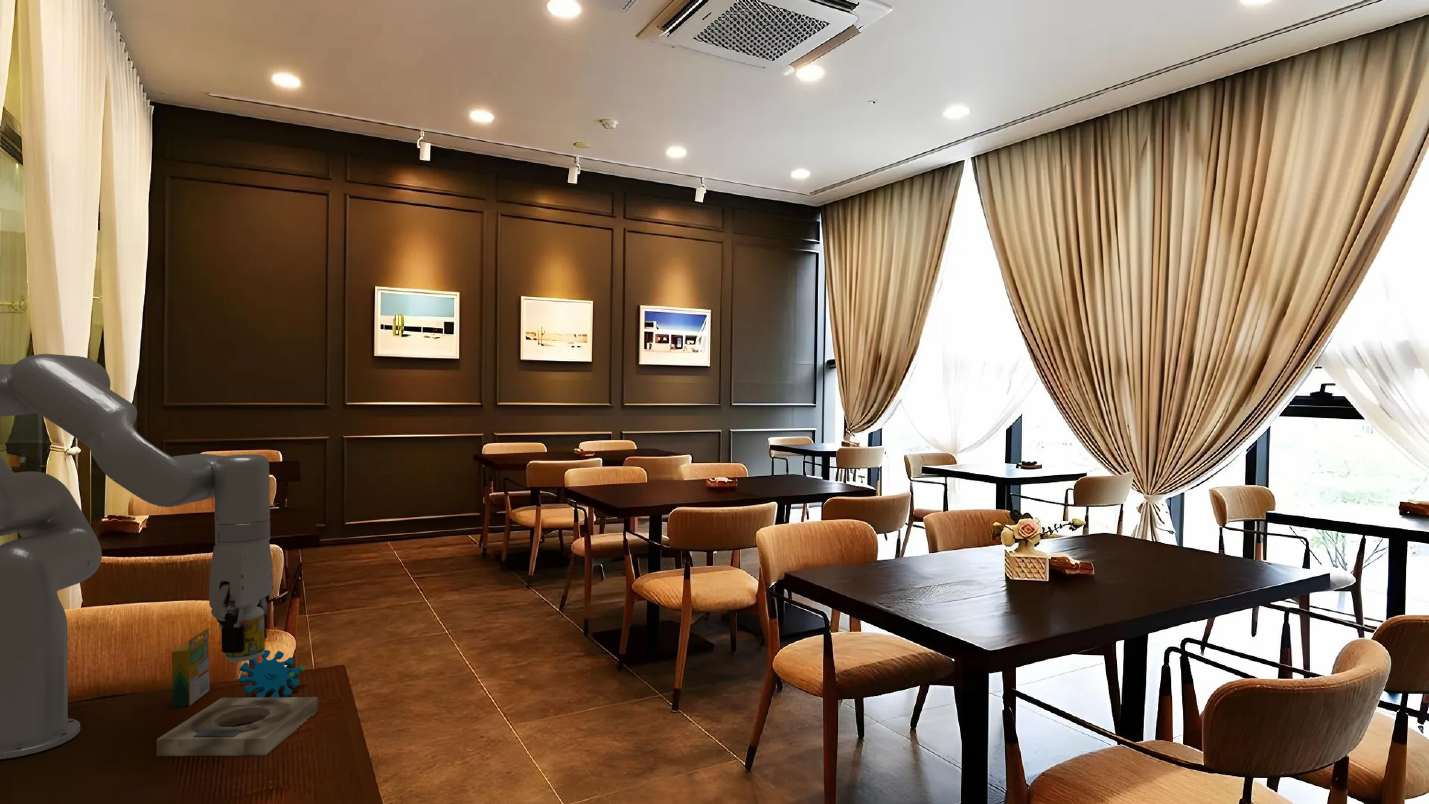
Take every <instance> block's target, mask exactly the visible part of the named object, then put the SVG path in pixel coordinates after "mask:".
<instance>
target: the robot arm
mask: <svg viewBox="0 0 1429 804" xmlns="http://www.w3.org/2000/svg"><path fill="white" fill-rule="evenodd" d="M111 383H112V382H111V378H110V375H109V374H108V371H107V370H106V369H105V368H104V366H102V365H101V364H100V363H98V362H97V361H95V360H93V359H91V358H89V357H84V356H79V355H69V354H68V355H67V354H66V355H65V354H55V353H39V354H34V355H33V354H32V355H29V356H26V357H24V358H21V359H20V360H18V361H17V362H16V363H9V364H7V363H6V364H5V363H4V364H3V363H0V417H10V416H11V417H12V416H13V417H14V416H23V415H30V414H31V415H32V414H39V415H40V416H42V417H44V419H46V420H48V421H49V422H51V423H53V424H54V425H56V426H57V427H59V428H61V429H62V430H63V431H64V432H66V433H68V434H69V435H71V436H72V437H74V438H75V439H77V440H78V441H80V442H81V443H82V444H84V445H85V446H87V447H88V449H89V450H90V455H91V456H92V458H93V459H94V461H95V462H96V464H97V466H98V467H99V468H100V469H101V471H102V472H103V473H104V474H105V476H107V477H108V478H109V479H110V480H112V481H113V482H114V483H115V484H117V485H119V486H120V487H121V488H123V489H125V490H126V491H128V492H129V493H131V494H133V495H134V496H136V497H137V498H140V499H141V500H142V501H144V502H146V503H149V504H150V505H154V506H157V507H162V508H175V507H180V506H182V505H187V504H191V503H195V502H200V501H204V500H208V499H214V533H215V534H214V538H215V539H214V540H215V541H214V543H215V545H214V546H213V551H212V556H211V560H210V569H209V571H210V573H209V574H210V575H209V584H208V585H209V587H208V588H209V593H208V602H209V608H211V610H210V613H211V615H212V617H214V618H215V619H216V621H217V622H218V626H219V629H220V630H221V653H223V654H226V653H241V652H243V651H244V650H245V643H244V626H241V623H242V617H243V611H244V607H245V606H247V605H249V604H251V603H253V602H255V601H257V600H259V603H258V605H257V606H258V607H260V608H262V609H263V611H264V636H265V640H266V639H267V637H268V636H267V634H268V633H267V614H268V611H269V608H268V604H269V601H270V597H271V595H272V592H273V590H274V585H273V561H272V554H271V553H272V552H271V544H270V540H271V504H270V502H271V498H270V497H271V496H270V489H271V488H270V463H269V460H268V458H267V457H266V456H264V455H261V454H231V455H219V454H209V453H192V454H185V455H184V454H183V455H175V456H171V455H170V454H167V453H166V452H164V451H163V450H161V449H160V448H158V447H157V446H155V445H153V444H152V443H151V442H149V441H148V440H146V439H145V438H144V437H143V436H142V435H140V434H139V432H137V430H136V429H135V428H134V424H135V423H136V420H137V417H138V410H137V408H136V406H135V405H134V404H133V403H132V402H130V401H129V400H127V399H125V398H124V397H122V395H120V394H118V393H117V392H115V391H113V390H112V389H111ZM17 533H19V535H20V537H21V538H17V539H13V540H10V541H7V542H4V543H3V544H0V760H7V758H8V759H13V758H20V757H23V756H24V757H25V756H29V755H33V754H37V753H40V752H43V751H44V752H45V751H47V750H50V749H53V748H55V747H57V746H60V745H63V744H65V743H67V742H69V741H71V740H72V739H74V738H75V737H77V736H78V734H79V733H80V731H81V723H80V721H78V719H77V720H76V719H74V718H71V717H68V716H69V715H68V713H69V712H68V709H69V707H68V705H69V704H68V703H69V702H68V697H69V696H68V691H69V689H68V685H69V684H68V682H69V681H68V678H69V677H68V676H69V675H68V670H69V669H68V667H69V666H68V665H69V664H68V660H69V659H68V650H69V649H68V647H69V646H68V645H69V644H68V642H69V640H68V639H69V638H68V637H69V636H68V618H67V615H66V614H67V613H66V611H65V608H64V607H63V604H62V602H61V600H60V598H59V595H58V592H59V591H60V590H63V589H66V588H70V587H72V586H75V585H78V584H80V583H82V582H84V581H86V580H88V579H89V578H91V577H92V576H93V575H94V574H95V573H96V572H97V571H98V569H99V568H100V566H101V563H102V558H103V556H102V555H103V554H102V553H103V552H102V548H101V544H100V541H99V539H98V537H97V535H96V534H95V532H94V530H93V528H92V527H91V525H90V523H89V521H88V520H87V518H86V517H85V515H84V513H83V511H82V510H81V508H80V506H79V505H78V503H77V500H76V499H75V498H74V496H73V494H72V493H71V491H70V490H69V489H68V487H67V486H66V485H65V484H64V483H63V482H62V481H61V480H59V479H58V478H57V477H54V476H53V475H50V474H48V473H45V472H41V471H32V470H31V471H20V472H19V471H18V472H15V471H13V470H12V469H11V468H10V467H9V466H8V464H7V463H6V461H5V460H4V458H3V457H2V454H1V453H0V537H3V536H9V535H12V534H17ZM230 603H235V605H234V606H231V607H230V606H229V604H230ZM229 611H236V613H235V617H234V616H233V615H232V614H231V613H229Z"/></svg>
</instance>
